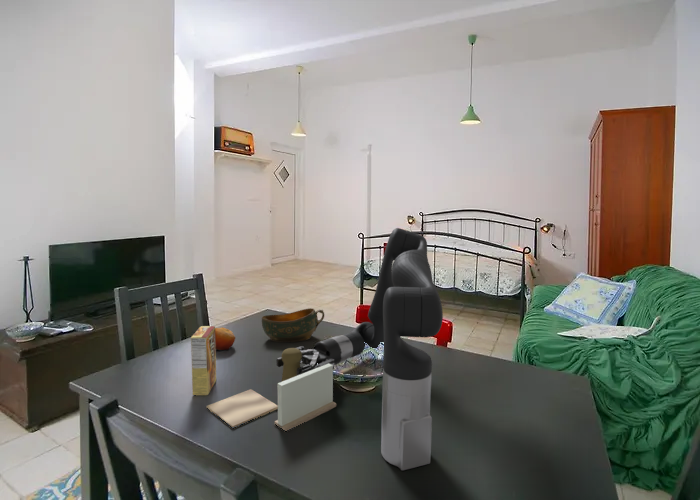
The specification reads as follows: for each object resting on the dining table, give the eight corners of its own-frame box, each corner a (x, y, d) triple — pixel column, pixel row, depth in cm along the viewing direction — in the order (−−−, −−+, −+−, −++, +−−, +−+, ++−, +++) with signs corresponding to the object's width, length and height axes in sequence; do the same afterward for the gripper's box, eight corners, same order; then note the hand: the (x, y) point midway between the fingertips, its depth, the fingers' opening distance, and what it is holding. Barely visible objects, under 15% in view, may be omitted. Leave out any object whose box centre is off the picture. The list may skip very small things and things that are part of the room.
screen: (324, 400, 99) (325, 361, 98) (336, 406, 96) (336, 366, 95) (274, 424, 88) (273, 381, 87) (285, 432, 85) (285, 387, 84)
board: (278, 408, 95) (278, 406, 95) (232, 429, 86) (232, 426, 86) (250, 391, 103) (250, 389, 103) (206, 408, 95) (206, 405, 95)
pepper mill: (305, 385, 107) (305, 345, 105) (300, 396, 101) (300, 354, 99) (283, 384, 107) (283, 344, 106) (277, 395, 101) (276, 353, 100)
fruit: (202, 342, 133) (214, 321, 134) (224, 351, 136) (236, 330, 137) (204, 351, 126) (217, 328, 127) (227, 360, 129) (240, 338, 130)
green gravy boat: (312, 347, 133) (312, 318, 132) (259, 341, 139) (258, 313, 138) (325, 335, 146) (325, 308, 145) (276, 330, 151) (275, 304, 150)
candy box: (201, 380, 109) (199, 325, 107) (217, 379, 110) (215, 325, 108) (192, 396, 100) (189, 337, 98) (209, 395, 101) (207, 336, 99)
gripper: (316, 332, 118) (270, 346, 107) (351, 345, 108) (304, 362, 97) (316, 356, 119) (271, 373, 108) (351, 371, 109) (304, 391, 98)
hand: (287, 368), depth 102 cm, fingers open, 8 cm apart
